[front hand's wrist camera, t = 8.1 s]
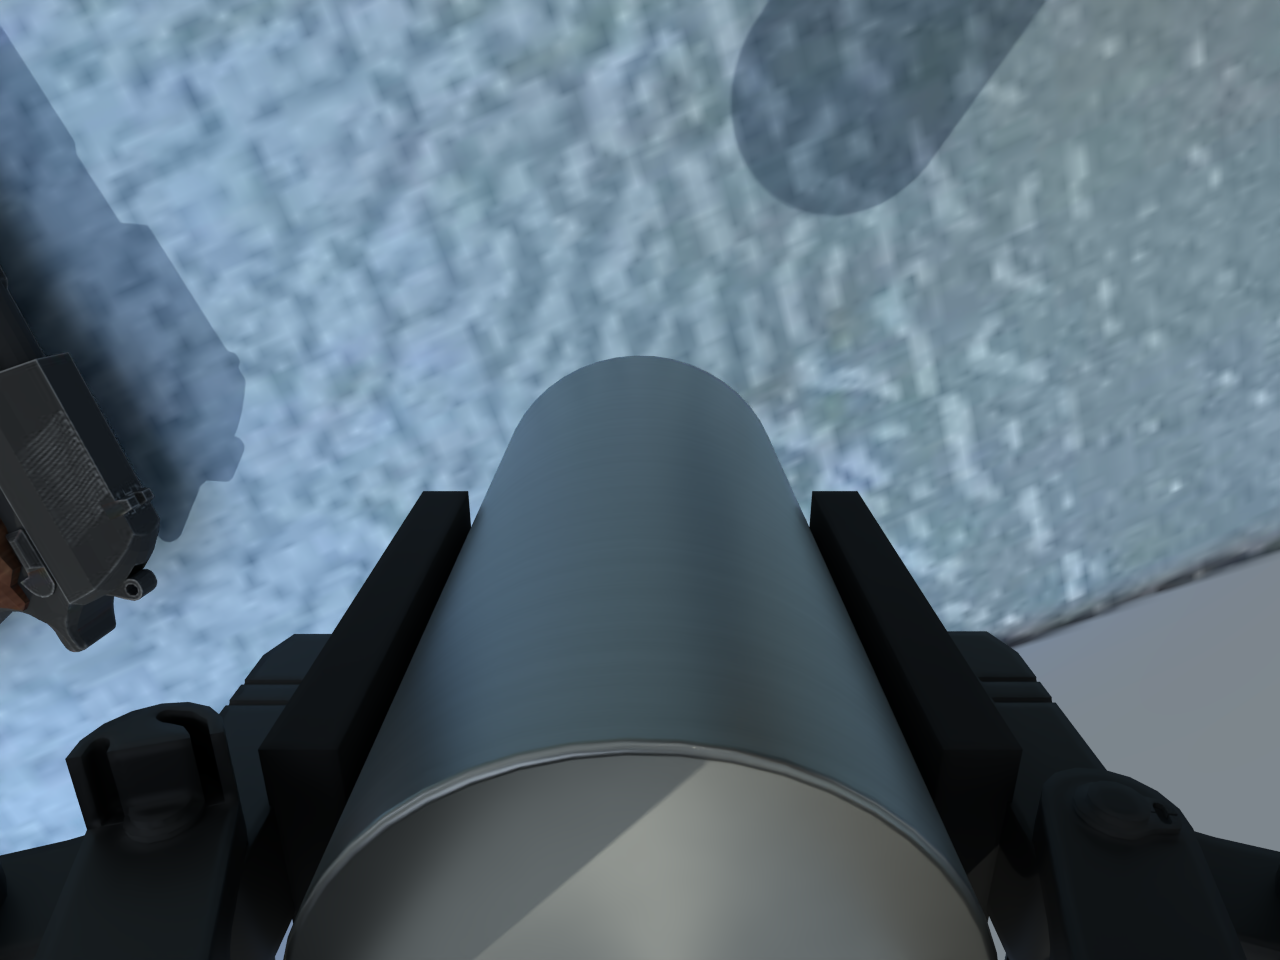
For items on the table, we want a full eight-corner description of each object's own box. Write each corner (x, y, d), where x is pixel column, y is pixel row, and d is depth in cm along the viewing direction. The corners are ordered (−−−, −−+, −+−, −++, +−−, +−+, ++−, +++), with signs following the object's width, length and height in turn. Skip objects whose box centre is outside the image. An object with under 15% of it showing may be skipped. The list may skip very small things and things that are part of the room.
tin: (687, 299, 16) (786, 602, 5) (825, 529, 18) (1113, 1114, 7) (447, 448, 17) (117, 956, 6) (599, 651, 19) (545, 1321, 8)
